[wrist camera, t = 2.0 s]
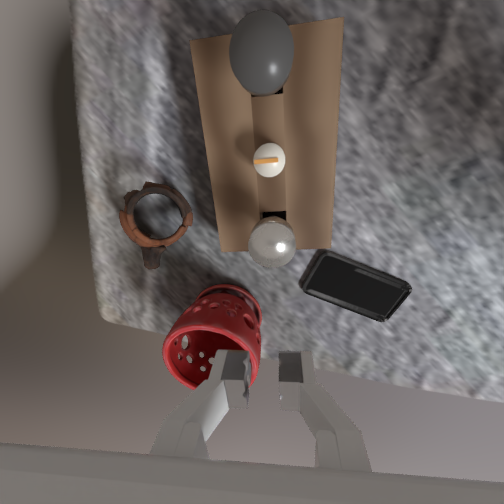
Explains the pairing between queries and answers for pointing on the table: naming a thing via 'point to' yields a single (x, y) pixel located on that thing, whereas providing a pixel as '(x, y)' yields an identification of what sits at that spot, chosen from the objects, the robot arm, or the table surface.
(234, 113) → the mount
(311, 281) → the phone
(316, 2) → the table surface
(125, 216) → the brown open round fixture
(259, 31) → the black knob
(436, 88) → the table surface
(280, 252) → the silver knob
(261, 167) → the dial
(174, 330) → the plant pot
